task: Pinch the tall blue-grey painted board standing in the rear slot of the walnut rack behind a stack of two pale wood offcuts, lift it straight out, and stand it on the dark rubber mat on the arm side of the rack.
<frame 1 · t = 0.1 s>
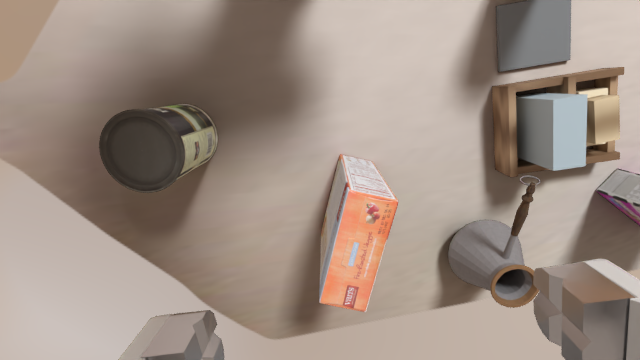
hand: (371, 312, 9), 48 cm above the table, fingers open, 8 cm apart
candy bar box: (628, 197, 57), on the table
mat: (532, 33, 51), on the table
cracker box: (347, 196, 59), on the table
coffee can: (186, 136, 57), on the table
board: (523, 124, 55), resting in rack
upper offcut: (591, 118, 51), point 3 cm above the table, touching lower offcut
coffee pot: (478, 218, 59), on the table
rack: (546, 120, 54), on the table
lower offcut: (576, 116, 54), resting in rack, touching upper offcut
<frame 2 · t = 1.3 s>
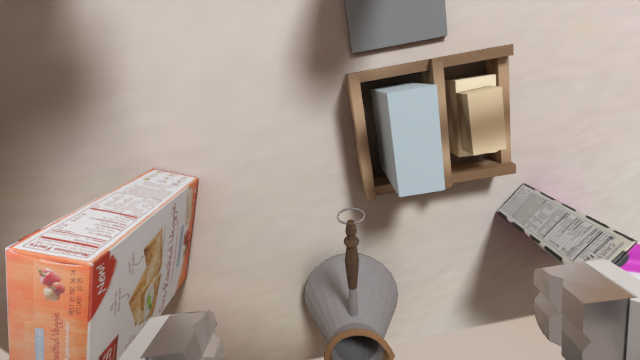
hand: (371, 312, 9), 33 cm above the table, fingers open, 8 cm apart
candy bar box: (541, 219, 43), on the table
cracker box: (173, 223, 44), on the table
board: (393, 125, 40), resting in rack
upper offcut: (474, 118, 37), point 3 cm above the table, touching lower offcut
coffee pot: (347, 248, 45), on the table
rack: (424, 120, 40), on the table
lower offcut: (464, 113, 40), resting in rack, touching upper offcut
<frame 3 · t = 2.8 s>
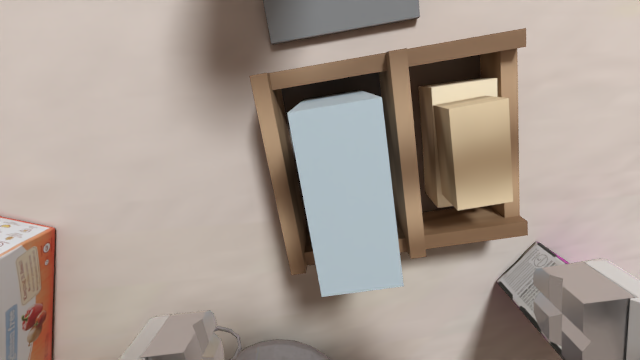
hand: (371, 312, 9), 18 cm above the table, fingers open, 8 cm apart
candy bar box: (561, 292, 29), on the table
cracker box: (27, 290, 31), on the table
board: (340, 155, 27), resting in rack
upper offcut: (462, 147, 23), point 3 cm above the table
coffee pot: (280, 327, 31), on the table
rack: (387, 148, 26), on the table
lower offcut: (448, 137, 26), resting in rack
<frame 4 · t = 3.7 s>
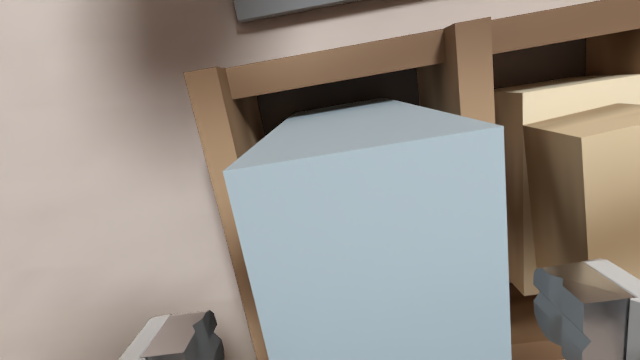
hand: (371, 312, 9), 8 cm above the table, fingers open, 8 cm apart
board: (353, 200, 17), resting in rack
upper offcut: (574, 194, 13), point 3 cm above the table, touching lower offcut
rack: (427, 189, 16), on the table
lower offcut: (527, 172, 16), resting in rack, touching upper offcut
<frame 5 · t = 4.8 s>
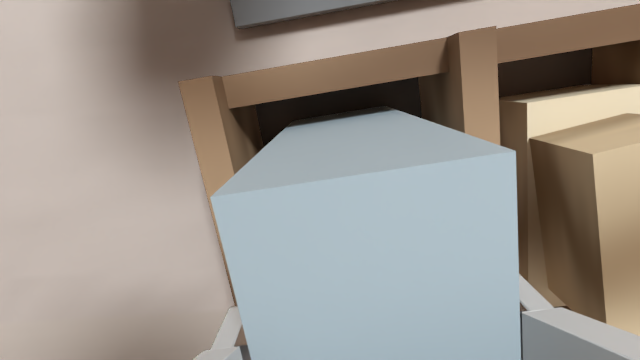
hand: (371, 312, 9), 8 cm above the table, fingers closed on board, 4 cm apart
board: (352, 210, 16), resting in rack, touching gripper
upper offcut: (584, 206, 13), point 3 cm above the table, touching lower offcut
rack: (429, 199, 16), on the table
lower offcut: (531, 181, 16), resting in rack, touching upper offcut
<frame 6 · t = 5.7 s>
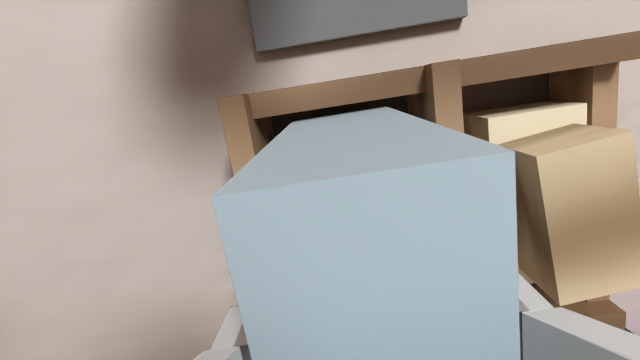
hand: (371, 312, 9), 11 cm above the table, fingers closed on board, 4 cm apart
board: (353, 210, 16), point 3 cm above the table, touching gripper
upper offcut: (544, 199, 16), point 3 cm above the table, touching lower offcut
rack: (415, 195, 19), on the table
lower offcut: (501, 182, 19), resting in rack, touching upper offcut
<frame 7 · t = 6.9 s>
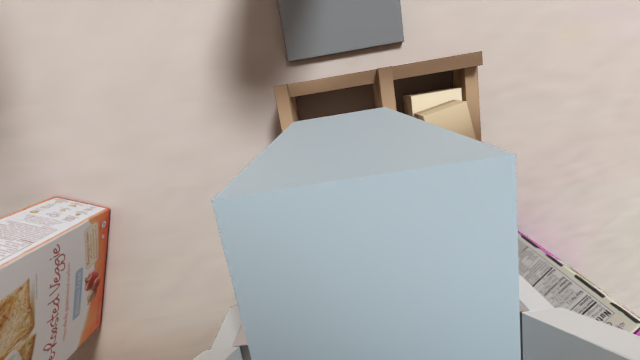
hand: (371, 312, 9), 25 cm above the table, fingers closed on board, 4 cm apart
candy bar box: (525, 264, 36), on the table
cracker box: (83, 261, 37), on the table
board: (353, 211, 16), point 17 cm above the table, touching gripper
upper offcut: (442, 141, 29), point 3 cm above the table, touching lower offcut
rack: (379, 143, 33), on the table
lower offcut: (428, 135, 33), resting in rack, touching upper offcut
when the fingers open (9 cm above the table, at t = 11.6 s): board drops 1 cm, resting on mat.
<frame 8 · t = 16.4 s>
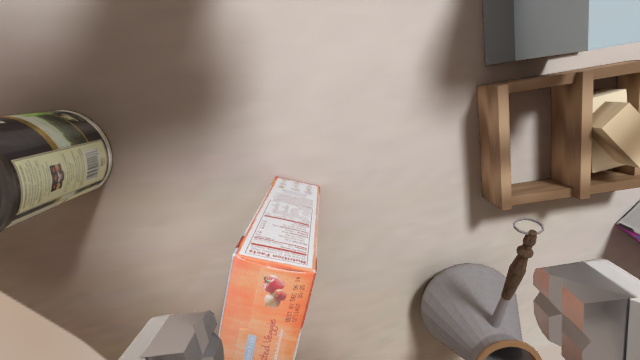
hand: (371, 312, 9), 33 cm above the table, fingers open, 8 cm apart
mat: (531, 13, 37), on the table
cracker box: (288, 231, 44), on the table
coffee can: (71, 153, 43), on the table
board: (533, 12, 37), point 1 cm above the table, touching mat
upper offcut: (610, 132, 37), point 3 cm above the table, touching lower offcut
coffee pot: (460, 258, 45), on the table
rack: (551, 132, 40), on the table
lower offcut: (585, 128, 40), resting in rack, touching upper offcut
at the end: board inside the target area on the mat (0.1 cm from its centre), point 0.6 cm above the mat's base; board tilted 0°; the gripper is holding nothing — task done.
